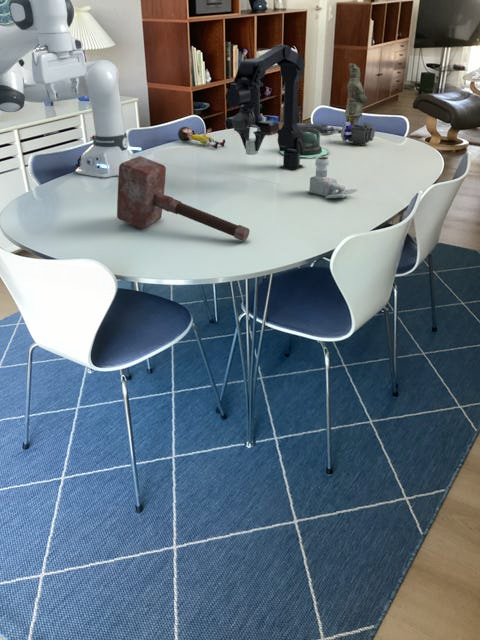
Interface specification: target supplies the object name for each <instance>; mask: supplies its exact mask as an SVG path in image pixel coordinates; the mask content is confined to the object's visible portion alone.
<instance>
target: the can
mask: <svg viewBox="0 0 480 640" xmlns="http://www.w3.org/2000/svg"><path fill="white" fill-rule="evenodd" d="M258 153H259V151H256V148H255V138H254V137H251V138H250V137H249V139H246V150H245V155H248V156H249V155H250V156H254V155H258Z"/></svg>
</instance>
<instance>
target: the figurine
mask: <svg viewBox="0 0 480 640" xmlns="http://www.w3.org/2000/svg"><path fill="white" fill-rule="evenodd" d="M210 132H212V128H209V129H207V130H206V132H205V133H204V134H202V135H201V134H198V133H195V130H193V129H191V128H189V127H188V126H182V127H180V128H179V129H178V132H177V137H178V139H179V141H182V142H191V141H192V140H194V141H198V142H200V143H201V144H203V145H204V146H210V147H212V148H214V149H215V150H216V149H218V145H219V146H221V147H225V144H226V139H222V141H218V140H216V139H215V138H213V137H212V136H207V135H208V134H209V133H210Z"/></svg>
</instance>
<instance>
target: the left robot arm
mask: <svg viewBox="0 0 480 640" xmlns="http://www.w3.org/2000/svg"><path fill="white" fill-rule="evenodd" d="M8 5H9V6H8V9H9V10H8V11H9V14H10V18H11V20H12V22H13V23H14V24H15V25H16V26H12V27H3V28H0V111H1V112H6V113H15V112H18V111H20V110H22V109H23V108H24V106H25V102H27V103H39V104H41V103H52V102H54V103H55V102H61V101H69V100H76V99H79V98H84V97H88V101H89V104H90V109H91V113H92V114H91V115H92V121H93V126H94V133H95V134H93V135H92V136H90V137H89V141H92V145H91V146H90V147H88V148H87V149H86V150H85V151H84V152H83V153H82V154H81V155H79V158H78V159H77V163H75V167H77V168H76V169H75V174H79V175H85V176H90V177H97V178H111V177H116V176H118V177H119V166H120V164H121V163H123V162H126V161H128V160H131V156H130V152H129V150H135V151H142V147H134V146H129V142H128V135H127V132H126V126H125V119H124V118H125V117H124V110H123V106H122V101H121V94H120V89H119V88H120V87H119V84H120V79H121V76H120V72H119V70H118V67H117V66H116V65H115V63H113V62H111V60H106V59H99V60H92V61H86V56H85V53H84V51H83V49H84V43H83V41H82V40H81V39H79V38H76V37H74V36H72V35H71V29H70V27H71V25H72V23H73V20H74V17H75V8H74V4H73V2H72V1H71V0H9V4H8ZM29 53H31V70H30V69H26V68H24V67H23V66H24V65H25V63H26V62H25V61H24V59H23V58H24V57H25V56H27V55H28V54H29Z"/></svg>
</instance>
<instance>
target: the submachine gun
mask: <svg viewBox="0 0 480 640" xmlns="http://www.w3.org/2000/svg"><path fill="white" fill-rule="evenodd" d="M277 122H278V124H279V129H281V127H282V126H283V123H284V121H277ZM297 125H298V127H299V128H311V129H316V130H318V131H319V132H320V133H322V135H323V136H329V135H331V134H333V133H334V132H335V128H334V126H331V127H329V126H328V125H327V124H315V123H305V122H304V123H303V122H297ZM328 127H329V128H328ZM276 132H277V133H278V130H277V131H274V132H271V133H266V135H271V134H274V133H276Z"/></svg>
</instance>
